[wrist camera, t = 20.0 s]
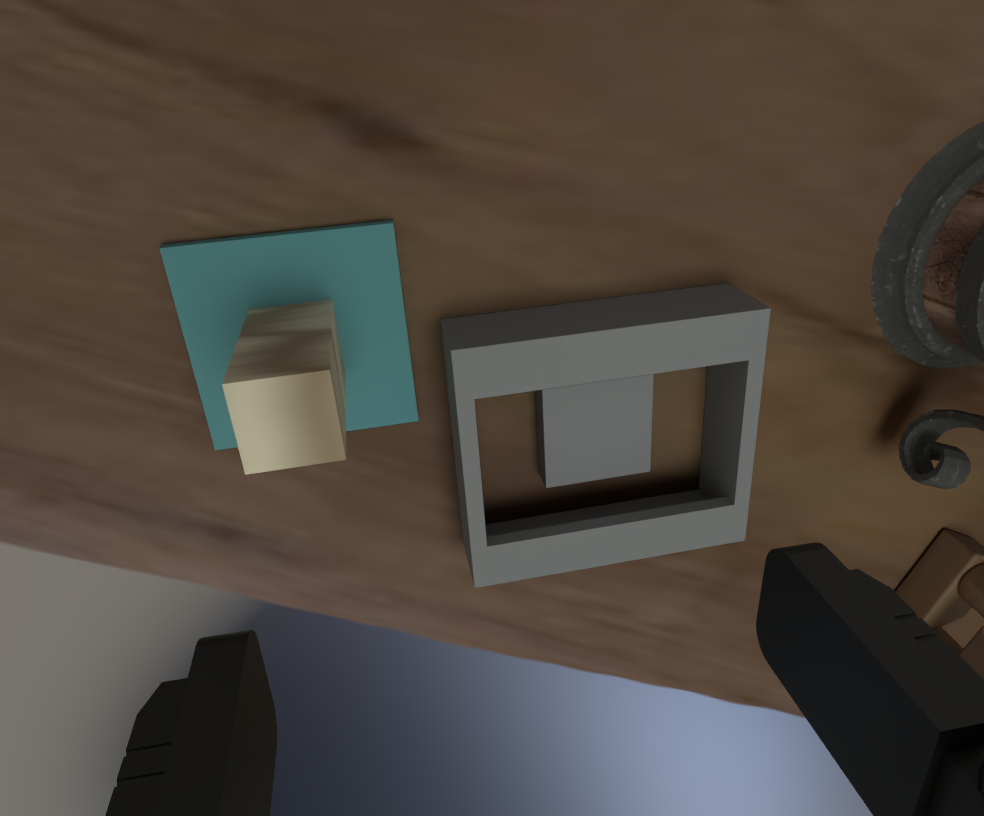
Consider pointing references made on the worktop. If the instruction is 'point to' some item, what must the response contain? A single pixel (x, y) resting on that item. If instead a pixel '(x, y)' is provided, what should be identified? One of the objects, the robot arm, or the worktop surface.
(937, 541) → the wooden block
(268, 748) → the robot arm
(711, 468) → the open gray rectangular frame
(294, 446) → the birch block
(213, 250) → the mat
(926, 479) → the tankard
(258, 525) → the worktop surface
